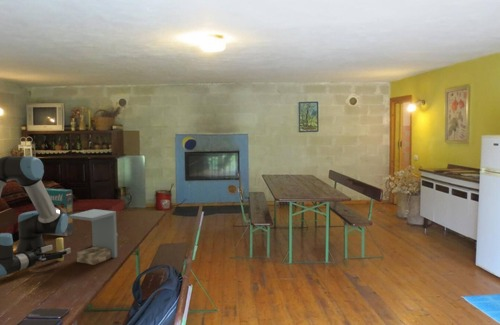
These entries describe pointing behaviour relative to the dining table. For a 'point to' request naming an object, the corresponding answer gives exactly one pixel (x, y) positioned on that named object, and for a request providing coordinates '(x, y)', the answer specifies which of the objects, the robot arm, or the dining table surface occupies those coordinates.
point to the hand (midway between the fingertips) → (61, 248)
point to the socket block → (93, 255)
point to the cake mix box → (63, 206)
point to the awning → (101, 228)
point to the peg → (59, 247)
